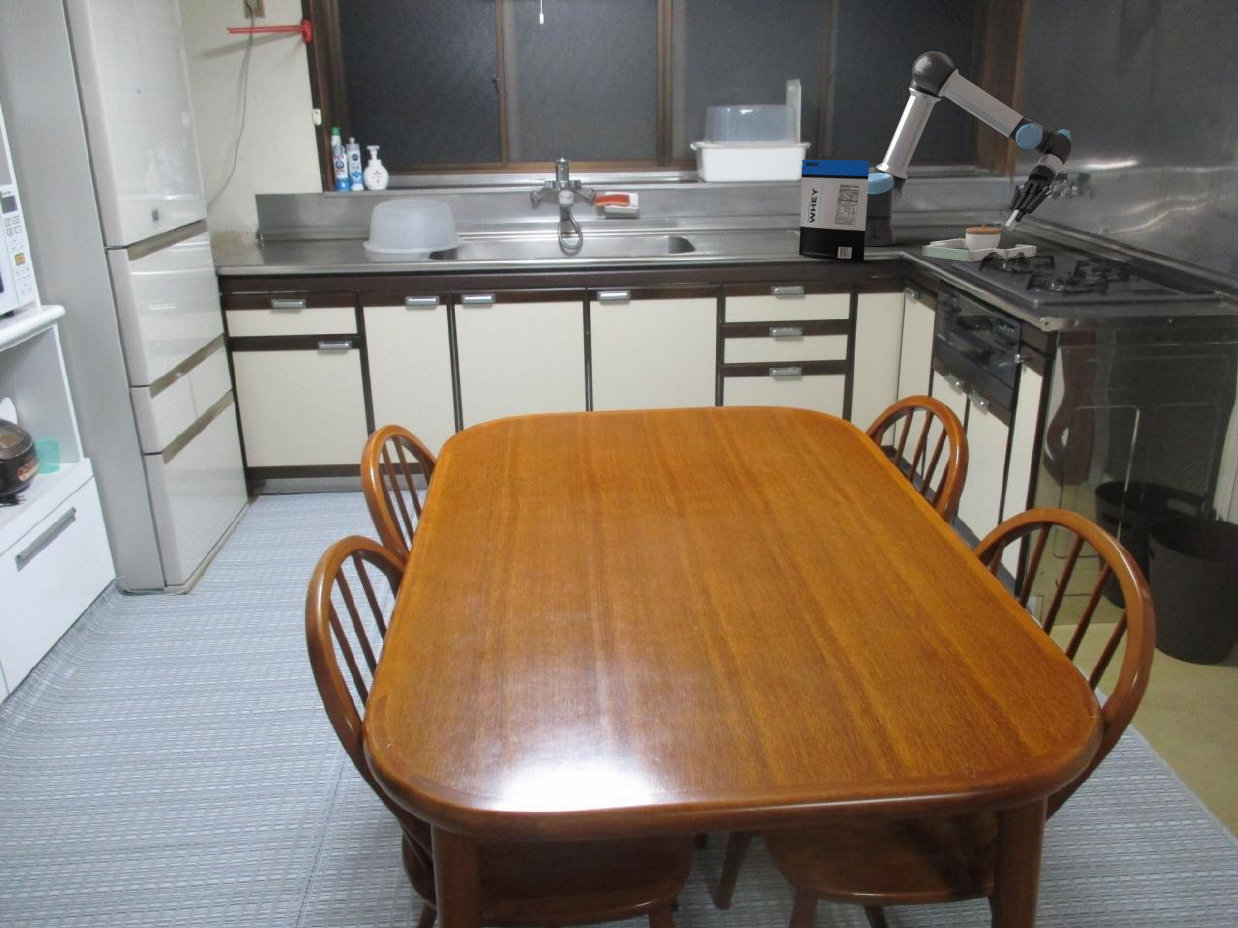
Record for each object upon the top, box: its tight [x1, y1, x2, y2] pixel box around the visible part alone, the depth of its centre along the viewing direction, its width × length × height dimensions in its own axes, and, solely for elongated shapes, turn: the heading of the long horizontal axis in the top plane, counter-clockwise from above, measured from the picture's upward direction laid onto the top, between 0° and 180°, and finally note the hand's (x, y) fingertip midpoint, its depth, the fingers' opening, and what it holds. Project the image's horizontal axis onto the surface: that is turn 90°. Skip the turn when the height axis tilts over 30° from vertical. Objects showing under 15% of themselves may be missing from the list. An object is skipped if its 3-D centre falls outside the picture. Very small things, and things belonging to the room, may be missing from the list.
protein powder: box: [798, 159, 870, 262], centre depth 322 cm, size 10×24×30 cm, turn 46°
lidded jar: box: [965, 223, 1002, 251], centre depth 326 cm, size 11×11×9 cm
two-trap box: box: [921, 237, 1037, 263], centre depth 325 cm, size 29×24×3 cm
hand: (1008, 228), depth 331 cm, fingers closed
